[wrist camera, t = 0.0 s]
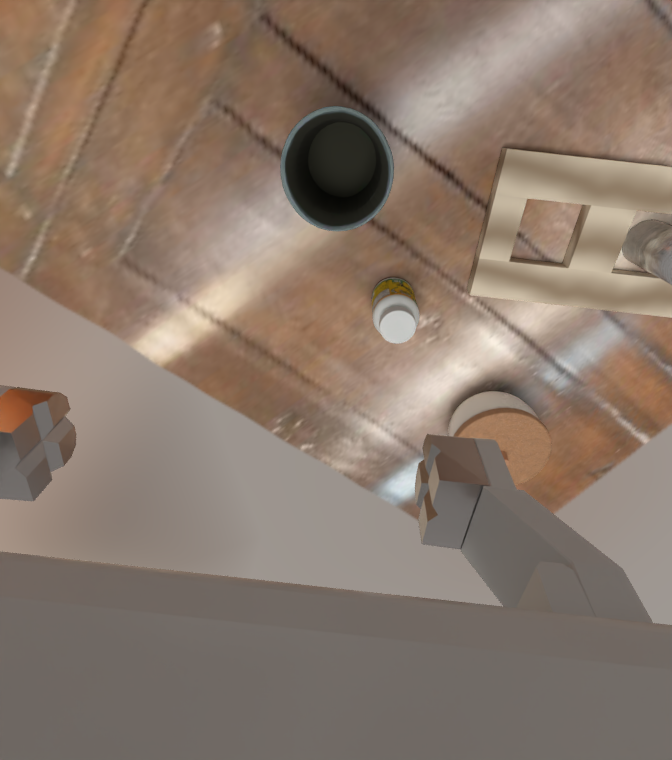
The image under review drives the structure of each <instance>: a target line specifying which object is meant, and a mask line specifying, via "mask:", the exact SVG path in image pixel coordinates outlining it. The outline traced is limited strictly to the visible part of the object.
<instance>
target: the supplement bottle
mask: <svg viewBox="0 0 672 760" xmlns="http://www.w3.org/2000/svg"><path fill="white" fill-rule="evenodd" d="M372 316H373V323H374V326H375V328H376V329H377V330H378V332H379V333H381V335H382V336H383V338H384V339H386V340H387V341H389V342H391V343H403V342H406V341H407V340H409V339H410V338H411V337H412V336H413V334H414V333H415V330H416V326H417V324H418V322H419V309H418V306H417V303H416V299H415V296H414V292H413V289H412V287H411V286H410V285H409V284H408V283H407V282H406V281H405V280H403V279H400V278H387V279H384V280H382V281H381V282H379V283H378V284H377V285H376V287H375V288H374V290H373V293H372Z"/></svg>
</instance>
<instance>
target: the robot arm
mask: <svg viewBox="0 0 672 760" xmlns="http://www.w3.org/2000/svg"><path fill="white" fill-rule="evenodd" d="M69 411H70V407H69V403H68V399H67V397H66V396H64V395H63V394H61V393H58V392H50V391H42V390H35V389H27V388H20V387H17V388H16V387H11V386H1V385H0V499H12V500H24V501H34V500H35V499H36V498H37V497H38V496H39V494H40V493H41V492H42V491H43V490H44V489H45V488H46V486H47V485H48V484H49V483H50V482H51V481H52V474H51V472H52V471H54V470H56V469H58V468H60V467H62V466H64V465H65V464H66V463H67V461H68V460H69V459H70V458H71V456H72V454H73V451H74V448H75V445H76V432H75V427H74V425H73V424H72V423H71V422H70V421H69V420H68V419H67V418H66V415H67V414H68V412H69ZM423 455H424V460H423V461H421V462H420V463H419V465H418V469H417V474H416V483H415V498H416V505H417V506H418V507H419V508H420V509H421V511H420V515H419V519H418V521H419V528H420V535H421V543H422V544H426V545H432V546H439V547H447V548H455V549H461V552H462V554H463V555H464V556H465V557H466V559H467V560H468V561H469V563H470V564H471V565H472V566H473V568H474V569H475V570H476V571H477V573H478V574H479V575H480V577H481V578H482V579H483V581H484V582H485V583H486V584H487V586H488V587H489V588H490V590H491V591H492V592H493V593H494V595H495V596H496V597H497V598H498V600H499V601H500V602H501V603H502V605H503V606H504V607H502V606H492V605H484V604H474V603H465V602H456V601H447V600H438V599H428V598H419V597H410V596H400V595H391V594H382V593H373V592H363V591H354V590H344V589H336V588H327V587H317V586H309V585H301V584H291V583H283V582H274V581H265V580H256V579H247V578H237V577H228V576H219V575H210V574H201V573H193V572H183V571H174V570H165V569H156V568H147V567H138V566H137V567H136V566H128V565H119V564H110V563H101V562H92V561H82V560H73V559H64V558H55V557H46V556H37V555H28V554H17V553H9V552H0V760H672V625H666V624H657V623H653V622H652V620H651V618H650V616H649V615H648V613H647V611H646V609H645V608H644V606H643V604H642V602H641V600H640V599H639V597H638V595H637V593H636V591H635V590H634V588H633V586H632V584H631V583H630V581H629V579H628V577H627V576H626V574H625V572H624V570H623V569H622V568H621V567H620V566H618V565H617V564H616V563H615V562H613V561H612V560H611V559H610V558H608V557H607V556H606V555H605V554H603V553H602V552H601V551H599V550H598V549H597V548H596V547H594V546H593V545H592V544H591V543H589V542H588V541H587V540H586V539H584V538H583V537H582V536H580V535H579V534H578V533H577V532H575V531H574V530H573V529H572V528H570V527H569V526H568V525H567V524H565V523H564V522H563V521H561V520H560V519H559V518H558V517H557V516H555V515H554V514H553V513H551V512H550V511H549V510H548V509H546V508H545V507H544V506H543V505H541V504H540V503H539V502H538V501H536V500H535V499H534V498H532V497H531V496H530V495H529V494H527V493H526V492H525V491H524V490H517V489H516V487H515V484H514V482H513V479H512V477H511V474H510V472H509V470H508V467H507V465H506V462H505V460H504V458H503V455H502V453H501V450H500V448H499V445H498V443H497V442H496V441H495V440H494V439H482V438H464V437H454V436H444V435H434V434H427V435H426V438H425V440H424V444H423Z"/></svg>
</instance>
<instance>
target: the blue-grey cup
mask: <svg viewBox="0 0 672 760" xmlns="http://www.w3.org/2000/svg"><path fill="white" fill-rule="evenodd" d="M280 169H281V179H282V184H283V188H284V191H285V194H286V196H287V198H288V200H289V201H290V203H291V205H292V206H293V208H294V209H295V211H296V212H297V213H298V214H299V215H300V216H301V217H302V218H303V219H304V220H306V221H307V222H309V223H310V224H312V225H314V226H316V227H318V228H321V229H325V230H329V231H346V230H351V229H354V228H357V227H359V226H361V225H363V224H365V223H367V222H368V221H369V220H371V219H372V218H373V217H374V216H375V215H376V214H377V213H378V212H379V211H380V210H381V208H382V207H383V205H384V204H385V202H386V200H387V198H388V196H389V193H390V190H391V187H392V182H393V174H394V164H393V157H392V153H391V150H390V147H389V145H388V142H387V140H386V138H385V136H384V135H383V133H382V131H381V130H380V129H379V128H378V126H377V125H376V124H375V123H374V122H373V121H372V120H370V119H369V118H368V117H367V116H365V115H363V114H362V113H360V112H358V111H356V110H354V109H351V108H346V107H341V106H332V107H325V108H321V109H318V110H316V111H313V112H312V113H310V114H308V115H307V116H305V117H304V118H303V119H302V120H300V121H299V122H298V123H297V124H296V126H295V127H294V128H293V129H292V131H291V132H290V134H289V136H288V138H287V140H286V142H285V145H284V148H283V151H282V156H281V165H280Z"/></svg>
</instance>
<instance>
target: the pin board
mask: <svg viewBox="0 0 672 760" xmlns="http://www.w3.org/2000/svg"><path fill="white" fill-rule="evenodd" d="M527 198H529V199H538V200H546V201H555V202H564V203H573V204H582V205H583V206H582V209H581V211H580V214H579V217H578V220H577V223H576V226H575V229H574V231H573V234H572V237H571V240H570V243H569V246H568V249H567V251H566V254H565V257H564V260H563V263H553V262H544V261H535V260H526V259H517V258H510V257H511V253H512V250H513V246H514V243H515V239H516V236H517V233H518V229H519V226H520V222H521V219H522V215H523V212H524V208H525V205H526V201H527ZM636 211H645V212H654V213H663V214H672V166H663V165H654V164H645V163H636V162H627V161H618V160H609V159H600V158H591V157H582V156H573V155H564V154H555V153H546V152H537V151H528V150H519V149H510V148H502V151H501V155H500V159H499V163H498V167H497V171H496V175H495V179H494V183H493V187H492V191H491V195H490V199H489V203H488V207H487V211H486V215H485V219H484V223H483V227H482V231H481V235H480V239H479V242H478V246H477V250H476V254H475V258H474V262H473V266H472V270H471V274H470V278H469V282H468V286H467V291H468V293H469V295H473V296H482V297H491V298H500V299H509V300H518V301H527V302H536V303H545V304H554V305H563V306H572V307H581V308H590V309H599V310H608V311H617V312H626V313H635V314H644V315H653V316H662V317H671V318H672V285H671V284H669V283H667V282H665V281H664V280H662V279H660V278H658V277H657V276H655V275H653V274H651V273H643V272H634V271H625V270H616V269H613V267H614V265H615V263H616V260H617V258H618V255H619V253H620V250H621V248H622V245H623V243H624V241H625V238H626V236H627V233H628V231H629V228H630V226H631V223H632V221H633V219H634V216H635V214H636Z"/></svg>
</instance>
